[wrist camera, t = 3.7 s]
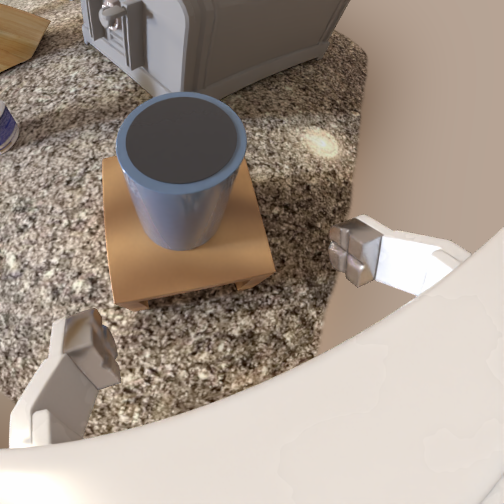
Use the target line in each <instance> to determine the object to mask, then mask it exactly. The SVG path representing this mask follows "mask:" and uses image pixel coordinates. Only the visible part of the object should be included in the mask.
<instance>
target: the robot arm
mask: <svg viewBox="0 0 504 504" xmlns="http://www.w3.org/2000/svg"><path fill="white" fill-rule="evenodd" d="M329 238H330V239H331V241H332V242H331V244H330V246H329V247H328V256H329V259H330V262H331V264H332V265H333V267H334V268H335V269H336V270H337V271H339V272H343V273H345V274H346V278H347V279H348V280H349V281H350V282H351V283H353V284H354V285H355V286H356V287H357V288H358V287H360V286H362V285H365V284H366V283H368V282H371V281H373V280H375V281H378V282H381V283H383V284H386V285H389V286H391V287H394V288H397V289H400V290H402V291H405V292H408V293H411V294H413V295H416V296H417V297H415V298H414V299H412V300H411V301H409V302H408V303H406V304H405V305H403V306H402V307H400V308H399V309H397V310H396V311H394V312H392V313H391V314H389V315H388V316H386V317H385V318H383V319H381V320H380V321H378V322H377V323H375V324H373V325H372V326H370V327H368V328H367V329H365V330H363V331H362V332H360V333H358V334H357V335H355V336H353V337H351V338H350V339H348V340H346V341H344V342H343V343H341V344H339V345H337V346H335V347H333V348H332V349H330V350H328V351H326V352H324V353H322V354H320V355H318V356H316V357H315V358H313V359H311V360H309V361H307V362H305V363H303V364H301V365H299V366H297V367H295V368H292V369H290V370H288V371H286V372H284V373H282V374H280V375H278V376H275V377H273V378H271V379H269V380H267V381H264V382H262V383H260V384H257V385H255V386H253V387H250V388H248V389H246V390H243V391H241V392H238V393H236V394H233V395H231V396H228V397H226V398H223V399H221V400H218V401H215V402H213V403H210V404H207V405H205V406H202V407H199V408H196V409H193V410H190V411H187V412H184V413H181V414H178V415H175V416H172V417H169V418H166V419H163V420H159V421H156V422H152V423H149V424H145V425H142V426H138V427H134V428H131V429H127V430H123V431H119V432H114V433H110V434H106V435H101V436H96V437H92V438H86V439H84V438H83V435H84V432H85V429H86V426H87V423H88V420H89V417H90V414H91V411H92V408H93V406H94V403H95V400H96V397H97V395H98V392H99V391H98V390H100V389H103V388H106V387H109V386H112V385H116V384H119V383H121V377H120V369H119V365H118V364H117V362H116V361H115V359H116V357H117V356H118V353H117V347H116V344H115V341H114V338H113V336H112V334H111V332H110V330H109V328H108V327H106V326H104V325H102V317H101V315H100V314H99V312H98V310H97V309H95V308H92V309H89V310H85V311H82V312H79V313H76V314H73V315H70V316H68V317H64V318H61V319H58V320H55V321H54V322H53V325H52V332H51V339H50V347H49V355H48V359H44V361H43V362H42V364H41V365H40V367H39V368H38V370H37V372H36V373H35V375H34V376H33V378H32V379H31V381H30V382H29V384H28V386H27V387H26V389H25V391H24V392H23V394H22V395H21V397H20V399H19V400H18V402H17V404H16V406H15V407H14V409H13V411H12V413H11V415H10V433H9V449H0V504H504V227H503V228H502V229H501V230H500V231H499V232H498V233H496V234H495V235H494V236H493V237H492V238H491V239H490V240H489V241H487V242H486V243H485V244H484V245H483V246H482V247H480V248H479V249H478V250H477V251H476V252H475V253H473V254H471V253H470V252H468V251H467V250H465V249H464V248H462V247H461V246H459V245H457V244H456V243H454V242H452V241H451V240H446V239H441V238H437V237H432V236H427V235H421V234H416V233H411V232H405V231H400V230H396V231H393V230H392V229H390V228H388V227H387V226H385V225H383V224H382V223H380V222H378V221H376V220H375V219H373V218H371V217H369V216H368V215H364V214H362V215H359V216H357V217H354V218H352V219H350V220H347V221H344V222H341V223H339V224H336V225H333V226H331V227H330V229H329Z"/></svg>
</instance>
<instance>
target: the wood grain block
mask: <svg viewBox="0 0 504 504" xmlns="http://www.w3.org/2000/svg"><path fill="white" fill-rule="evenodd" d="M102 177H103V207H104V224H105V236H106V247H107V256H108V265H109V272H110V280H111V286H112V293H113V299H114V304H116V305H119V306H121V307H124V308H127V309H129V310H132V311H140V310H146V309H149V303H148V300H151V299H156V298H162V297H167V296H172V295H177V294H182V293H187V292H192V291H197V290H202V289H207V288H212V287H217V286H222V285H227V284H231V283H236V288H237V291H240V290H244V289H249V288H253V287H254V286H256V285H257V284H259V283H260V282H262V281H263V280H265V279H266V278H268V277H269V276H271V275H272V274H273V273H275V272H276V270H275V266H274V262H273V258H272V255H271V251H270V247H269V243H268V240H267V236H266V232H265V228H264V225H263V221H262V217H261V214H260V210H259V206H258V203H257V199H256V195H255V192H254V188H253V185H252V181H251V177H250V174H249V170H248V167H247V163H246V160H245V156H244V159H243V162H242V164H241V167H240V170H239V173H238V176H237V178H236V181H235V184H234V187H233V190H232V193H231V195H230V198H229V201H228V204H227V207H226V210H225V213H224V216H223V219H222V222H221V224H220V227H219V229H218V230H217V232H216V233H215V235H214V236H213V237H212V238H211V239H210V240H209V241H208V242H206V243H205V244H203V245H201V246H200V247H197V248H195V249H191V250H186V251H174V250H169V249H165V248H163V247H161V246H159V245H157V244H155V243H154V242H153V241H152V240H151V239H150V238H149V237H148V236H147V235H146V233H145V232H144V230H143V228H142V226H141V223H140V221H139V218H138V216H137V213H136V210H135V208H134V205H133V202H132V199H131V197H130V194H129V191H128V188H127V185H126V183H125V180H124V177H123V174H122V171H121V168H120V165H119V162H118V158H117V156H113V157H108V158H104V159H102Z"/></svg>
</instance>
